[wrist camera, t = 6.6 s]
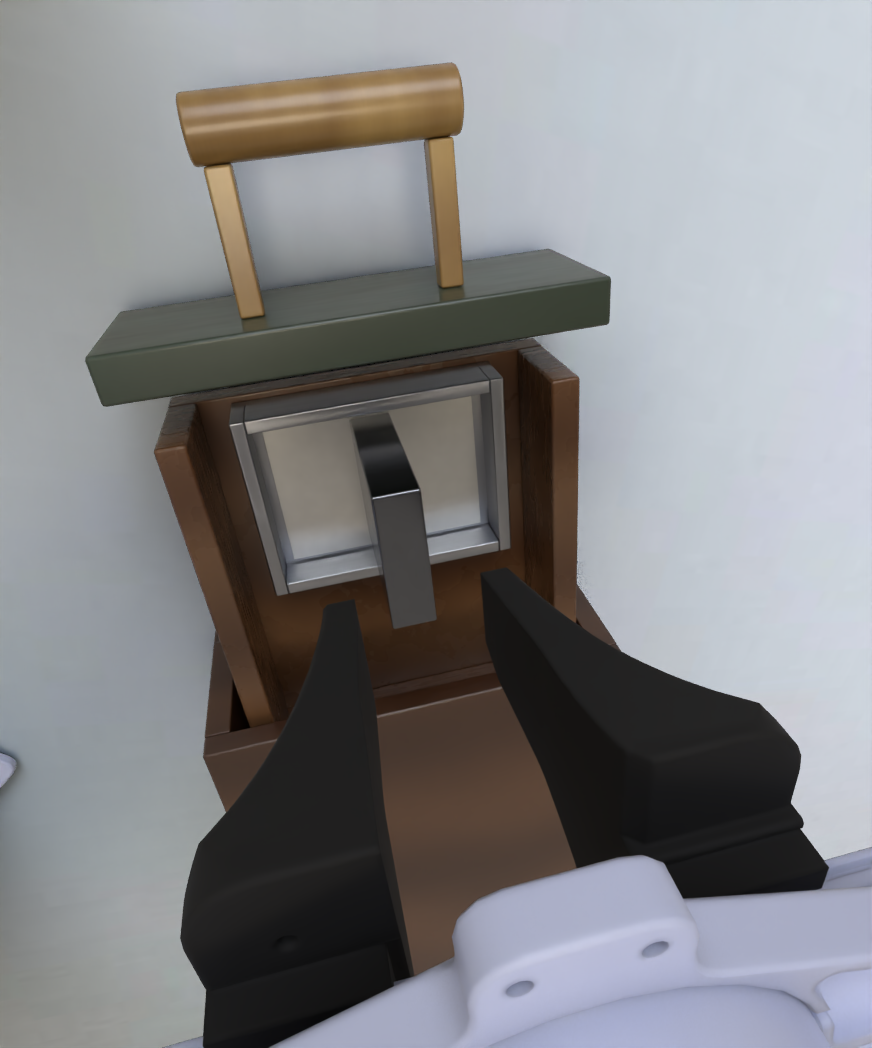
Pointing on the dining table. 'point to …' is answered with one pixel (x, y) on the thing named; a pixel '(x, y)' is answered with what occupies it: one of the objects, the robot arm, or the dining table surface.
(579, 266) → the drawer
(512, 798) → the cabinet
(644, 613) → the dining table surface
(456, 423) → the tray
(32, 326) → the dining table surface
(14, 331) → the dining table surface
